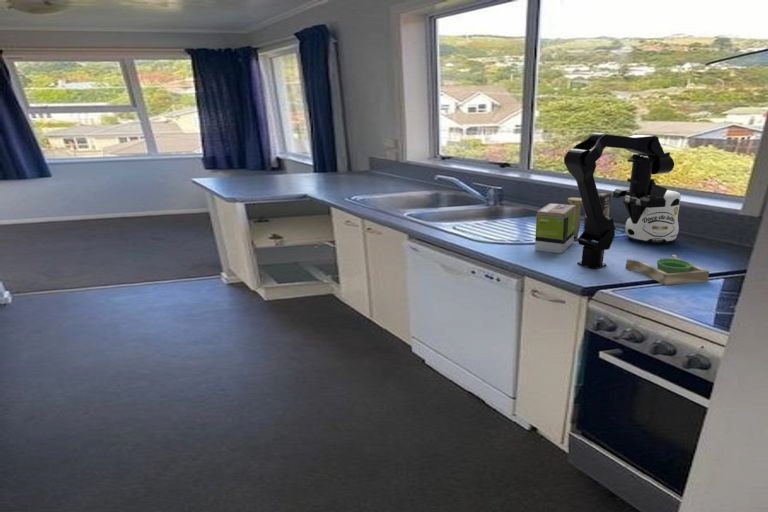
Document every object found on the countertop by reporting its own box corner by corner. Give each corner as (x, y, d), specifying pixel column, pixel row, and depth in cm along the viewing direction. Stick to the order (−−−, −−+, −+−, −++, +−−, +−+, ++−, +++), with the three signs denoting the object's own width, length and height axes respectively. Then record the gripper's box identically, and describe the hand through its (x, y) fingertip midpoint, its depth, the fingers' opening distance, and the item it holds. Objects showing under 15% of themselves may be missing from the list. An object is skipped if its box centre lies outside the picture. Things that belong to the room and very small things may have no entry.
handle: (568, 234, 190) (571, 197, 185) (584, 237, 185) (587, 199, 181) (562, 236, 187) (565, 198, 182) (578, 239, 182) (582, 201, 178)
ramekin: (693, 283, 137) (695, 268, 136) (657, 280, 140) (660, 266, 139) (685, 272, 145) (688, 259, 144) (652, 270, 148) (654, 257, 147)
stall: (624, 267, 151) (625, 258, 150) (673, 263, 153) (674, 254, 152) (659, 285, 136) (661, 275, 135) (713, 280, 138) (714, 270, 137)
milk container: (655, 249, 168) (662, 199, 162) (613, 238, 183) (619, 191, 177) (687, 242, 175) (695, 193, 169) (644, 231, 190) (650, 186, 184)
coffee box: (598, 237, 184) (603, 196, 179) (582, 235, 188) (586, 194, 183) (607, 232, 190) (612, 192, 185) (591, 230, 194) (595, 191, 189)
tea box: (546, 240, 183) (549, 202, 179) (573, 243, 178) (577, 204, 173) (533, 250, 172) (536, 210, 167) (562, 254, 166) (565, 213, 161)
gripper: (685, 178, 143) (677, 228, 148) (645, 170, 161) (639, 215, 165) (651, 180, 142) (644, 231, 147) (614, 172, 159) (609, 217, 164)
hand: (634, 223), depth 156 cm, fingers closed
